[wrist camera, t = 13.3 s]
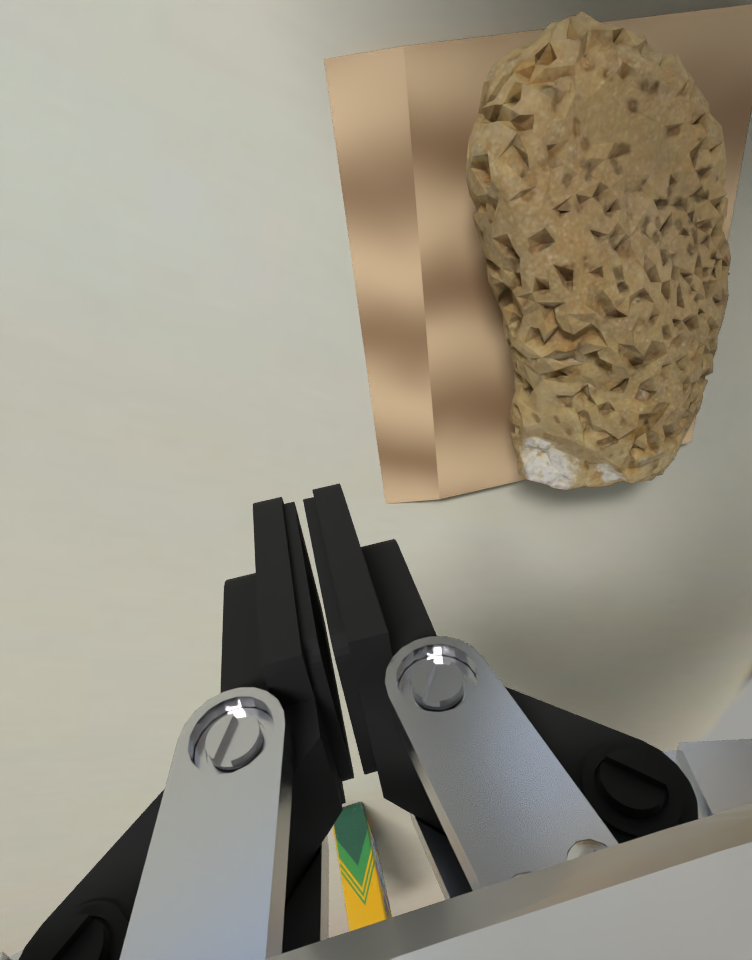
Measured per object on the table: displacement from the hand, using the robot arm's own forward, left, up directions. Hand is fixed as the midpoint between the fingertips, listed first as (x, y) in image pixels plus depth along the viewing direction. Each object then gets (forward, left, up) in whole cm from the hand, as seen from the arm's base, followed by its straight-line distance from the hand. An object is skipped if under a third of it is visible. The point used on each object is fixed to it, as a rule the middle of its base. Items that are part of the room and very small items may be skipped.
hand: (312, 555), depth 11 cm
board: (+1, +14, -20) cm, 25 cm away
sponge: (0, +15, -19) cm, 24 cm away
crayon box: (+45, -2, -20) cm, 49 cm away
